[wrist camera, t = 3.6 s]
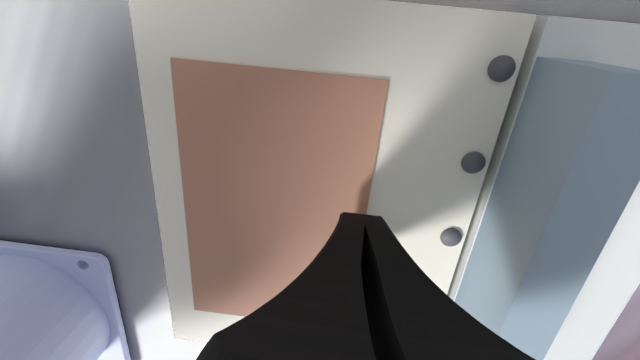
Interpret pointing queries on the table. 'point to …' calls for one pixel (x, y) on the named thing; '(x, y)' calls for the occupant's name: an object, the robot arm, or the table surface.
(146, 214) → the table surface
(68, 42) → the table surface
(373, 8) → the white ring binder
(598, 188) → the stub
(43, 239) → the table surface
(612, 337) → the table surface
